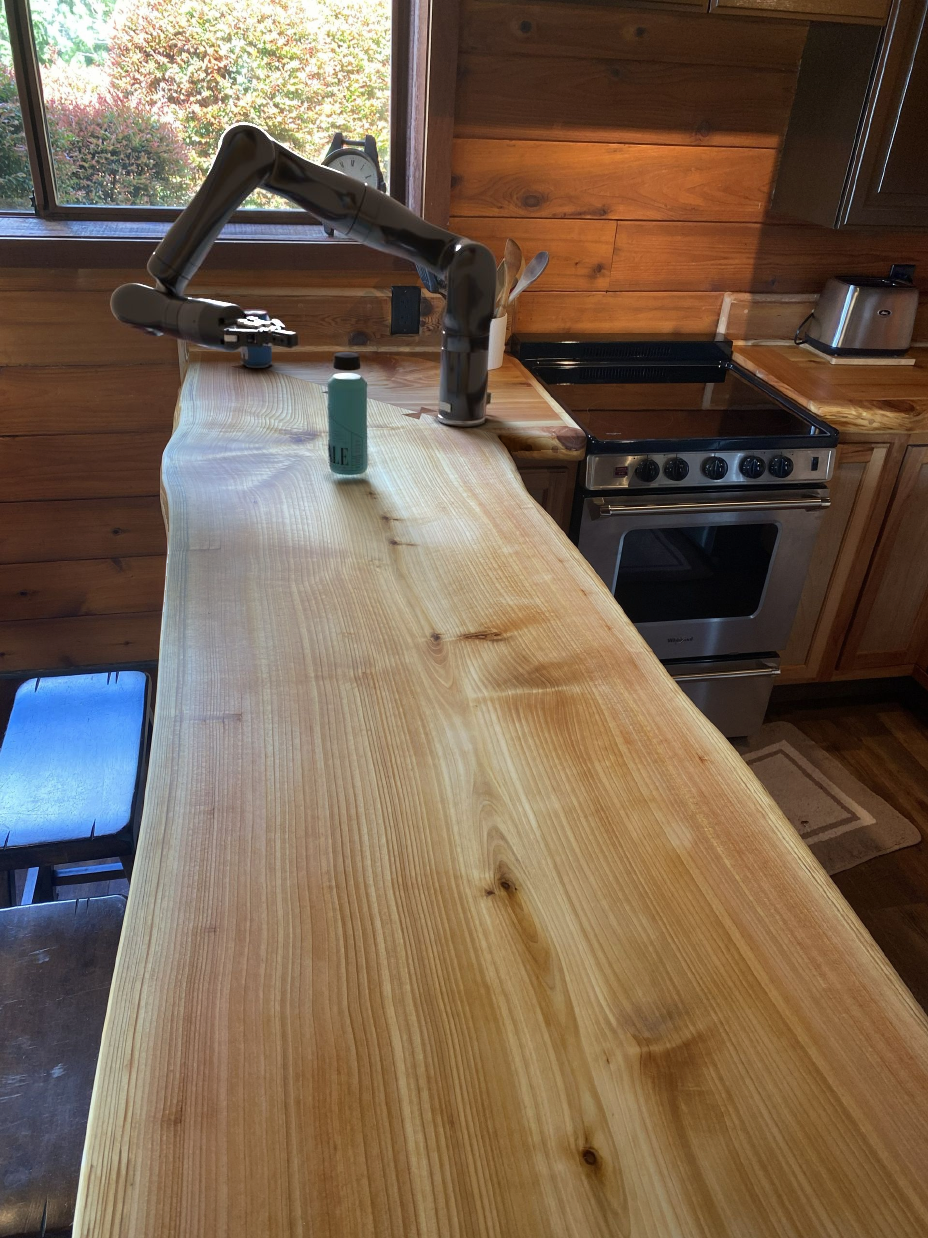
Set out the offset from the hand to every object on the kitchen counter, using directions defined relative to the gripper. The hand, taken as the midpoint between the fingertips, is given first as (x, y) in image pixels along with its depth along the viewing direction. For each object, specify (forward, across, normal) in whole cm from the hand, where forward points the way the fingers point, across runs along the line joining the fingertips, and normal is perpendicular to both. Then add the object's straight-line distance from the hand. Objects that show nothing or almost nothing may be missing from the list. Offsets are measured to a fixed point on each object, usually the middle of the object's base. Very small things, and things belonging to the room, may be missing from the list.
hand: (295, 340), depth 142 cm
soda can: (-52, +48, +21) cm, 74 cm away
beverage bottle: (+10, 0, +20) cm, 23 cm away
